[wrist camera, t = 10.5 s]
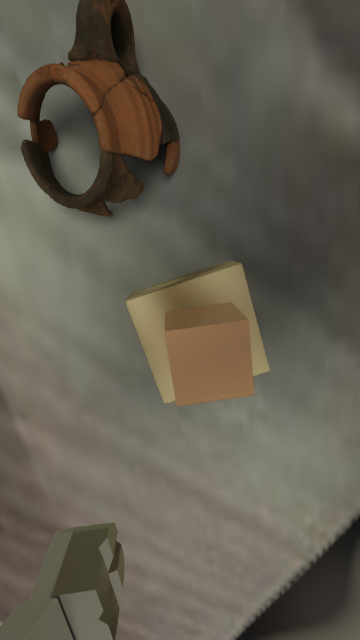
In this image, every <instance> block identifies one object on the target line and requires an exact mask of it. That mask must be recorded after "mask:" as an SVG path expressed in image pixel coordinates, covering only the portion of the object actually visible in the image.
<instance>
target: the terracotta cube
mask: <svg viewBox="0 0 360 640" xmlns="http://www.w3.org/2000/svg"><path fill="white" fill-rule="evenodd" d="M165 337H166V344H167V350H168V357H169V363H170V369H171V376H172V382H173V389H174V395H175V402H176V406H181V405H188V404H195V403H203V402H210V401H217V400H224V399H231V398H238V397H246V396H253V395H254V383H253V369H252V356H251V343H250V330H249V320H248V319H247V318H246V317H245V316H244V315H243V314H242V313H241V312H240V311H239V310H238V309H237V308H236V307H235V306H234V305H233V304H232V303H224V304H217V305H210V306H203V307H196V308H188V309H181V310H174V311H167V312H166V313H165Z"/></svg>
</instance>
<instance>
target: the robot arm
mask: <svg viewBox="0 0 360 640" xmlns="http://www.w3.org/2000/svg"><path fill="white" fill-rule="evenodd" d="M117 533H118V531H117V528H116V525H115V523H105V524H97V525H89V526H81V527H74V528H67V529H59V530H58V531H57V532H56V533H55V535H54V536H53V538H52V541H51V544H50V546H49V549H48V551H47V554H46V556H45V559H44V561H43V564H42V566H41V569H40V571H39V574H38V576H37V579H36V581H35V584H34V586H33V589H32V591H31V594H30V596H29V599H28V601H27V602H21V604H20V605H19V606H18V607H17V608H16V609H15V610H14V611H13V613H12V614H11V615H10V616H9V617H8V618H7V619H6V621H5V622H4V623H3V624H2V625H1V626H0V640H115V638H116V631H117V624H118V617H119V610H120V609H119V605H118V602H117V599H116V597H117V595H118V594H119V592H120V591H121V589H122V588H123V581H124V553H123V549H122V545H121V544H120V543H119V542H117V541H116V539H117Z"/></svg>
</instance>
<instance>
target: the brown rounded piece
mask: <svg viewBox="0 0 360 640" xmlns="http://www.w3.org/2000/svg"><path fill="white" fill-rule="evenodd" d="M68 59H69V60H70V61H71V62H69V63H68V65H67V66H64V64H63V63H62V62H61V63H59V64H49V65H45V66H43V67H40V68H39V69H37V70H36V71H34V72H33V73H32V74H31V75H30V76H29V77H28V79H27V80H26V83H25V85H24V86H23V88H22V91H21V94H20V97H19V102H18V116H19V117H20V118H22V119H25V120H30V129H31V136H32V141H33V142H32V141H29V140H23V142H22V146H21V150H22V154H23V156H24V160H25V162H26V164H27V166H28V168H29V170H30V172H31V174H32V176H33V178H34V179H35V181H36V182H37V184H38V185H39V186H40V187H41V189H42V190H43V191H44V192H45V193H46V194H49V196H50V197H51V198H52V199H53V200H54V201H56V202H57V203H60V204H61V205H63V206H65V207H68V208H77V209H79V210H81V211H84V212H88V213H92V214H96V215H100V216H109V217H111V216H112V215H113V214H112V212H111V211H110V210H109V209H108V208H107V205H106V203H105V201H107V202H111V203H120V202H123V201H125V200H127V199H136V198H137V197H138V196H139V195H140V193H141V192H142V191H143V189H144V184H143V183H142V182H140V181H138V180H135V178H134V176H133V174H132V173H131V171H130V170H129V168H128V166H127V164H126V162H125V160H124V158H123V155H127V156H131V157H137V158H141V159H144V160H146V161H151V160H152V159H154V158H155V157H156V156H157V155H158V152H159V144H160V145H163V144H165V143H167V152H166V159H165V164H164V169H163V171H164V173H166V174H171V173H172V172H174V171H175V170H176V169H177V165H178V161H179V154H180V143H179V133H178V129H177V126H176V123H175V120H174V118H173V116H172V114H171V112H170V111H169V109H168V108H167V106H166V105H165V104H164V103H163V102H162V101H161V99H160V98H159V96H158V94H157V93H156V91H155V90H154V89H153V88H152V86H151V85H150V84H149V82H148V81H147V79H146V78H145V77H144V76H142V75H141V74H140V72H139V69H138V66H137V62H136V57H135V42H134V31H133V25H132V20H131V15H130V12H129V8H128V6H127V4H126V2H125V0H80V1H79V4H78V8H77V14H76V36H75V42H74V45H73V47H72V49H71V51H70V52H69V53H68ZM57 84H64V85H67V86H68V87H70V88H72V89H73V90H74V91H75V92H76V93H77V94H78V95H79V96H80V97H81V98H82V100H83V101H84V102H85V104H86V105H87V107H88V109H89V111H90V113H91V114H92V116H93V119H94V122H95V125H96V128H97V132H98V137H99V143H100V149H101V158H100V166H99V171H98V175H97V177H96V179H95V181H94V183H93V185H92V186H91V188H90V189H89V190H88V191H87V192H85V193H84V194H81V195H75V194H71V193H69V192H68V191H66V190H65V189H64V188H63V187H62V186H61V185H60V184H59V182H58V181H57V179H56V177H55V175H54V173H53V170H52V167H51V163H50V159H49V154H48V152H49V151H52V150H53V149H54V148H55V147H56V146H57V137H56V133H55V130H54V127H53V124H52V122H51V121H49V120H46V119H44V120H42V121H39V120H40V110H41V105H42V102H43V99H44V97H45V94H46V92H47V91H48V90H49V89H50V88H51V87H52V86H54V85H57Z"/></svg>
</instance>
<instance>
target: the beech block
mask: <svg viewBox="0 0 360 640" xmlns="http://www.w3.org/2000/svg"><path fill="white" fill-rule="evenodd" d="M125 302H126V305H127V307H128V310H129V313H130V315H131V318H132V321H133V323H134V326H135V328H136V331H137V334H138V336H139V339H140V341H141V344H142V347H143V349H144V352H145V355H146V357H147V360H148V362H149V365H150V368H151V370H152V373H153V375H154V378H155V381H156V383H157V386H158V389H159V391H160V394H161V396H162V399H163V402H164V404H165V403H169V402H172V401H175V395H174V389H173V382H172V376H171V369H170V363H169V357H168V350H167V344H166V337H165V313H166V312H167V311H174V310H181V309H188V308H196V307H203V306H210V305H217V304H224V303H232V304H233V305H234V306H235V307H236V308H237V309H238V310H239V311H240V312H241V313H242V314H243V315H244V316H245V317H246V318H247V319H248V320H249V330H250V343H251V356H252V369H253V376H256V375H259V374H262V373H265V372H268V371H270V369H269V365H268V361H267V357H266V354H265V350H264V346H263V342H262V338H261V335H260V331H259V327H258V323H257V319H256V316H255V312H254V308H253V304H252V300H251V297H250V293H249V289H248V285H247V281H246V278H245V274H244V270H243V266H242V263H239V262H236V261H233V260H230V261H227V262H224V263H221V264H218V265H215V266H212V267H209V268H206V269H203V270H200V271H197V272H194V273H191V274H188V275H185V276H182V277H179V278H176V279H173V280H170V281H167V282H164V283H161V284H158V285H155V286H152V287H149V288H146V289H142V290H139V291H136V292H133V293H131V294H130V296H129V297H128V299H127V300H126V301H125Z"/></svg>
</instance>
